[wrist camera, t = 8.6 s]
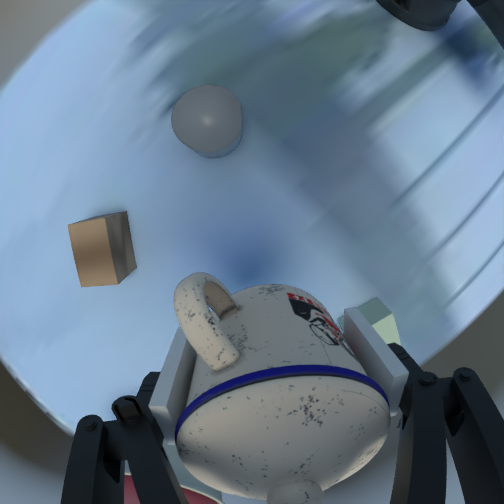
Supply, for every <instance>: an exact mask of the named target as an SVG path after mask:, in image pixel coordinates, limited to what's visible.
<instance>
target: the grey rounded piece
mask: <svg viewBox="0 0 504 504" xmlns="http://www.w3.org/2000/svg"><path fill="white" fill-rule="evenodd" d="M171 122H172V128H173V131H174V133H175V135H176V136H177V138H178V139H179V140H180V141H181V142H182V143H183V144H185V145H187V146H188V147H190V148H191V149H193V150H194V151H196V152H197V153H199V154H200V155H202V156H205V157H208V158H220V157H223V156H226V155H228V154H230V153H231V152H232V151H233V150H234V149H235V148H236V147H237V146H238V144H239V142H240V140H241V136H242V109H241V105H240V103H239V101H238V99H237V98H236V96H235V95H234V94H233V93H232V92H230V91H229V90H228V89H226V88H224V87H222V86H218V85H212V84H207V85H200V86H197V87H194V88H192V89H190V90H188V91H187V92H185V93H184V94H183V95H182V96H181V97H180V98H179V99H178V101H177V102H176V104H175V106H174V108H173V112H172V117H171Z"/></svg>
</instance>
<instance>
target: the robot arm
mask: <svg viewBox="0 0 504 504" xmlns="http://www.w3.org/2000/svg"><path fill="white" fill-rule="evenodd" d="M377 1H378V2H379V3H380V4H381V5H382V6H383V7H384V8H386V9H387V10H388V11H389V12H390V13H392V14H393V15H394V16H396V17H397V18H399V19H400V20H402V21H404V22H405V23H407V24H409V25H411V26H413V27H416V28H418V29H422V30H426V31H434V30H437V29H439V28H440V27H442V26H444V25H445V24H446V23H447V22H448V20H449V18H450V14H451V13H452V12H453V11H454V9H455V7H456V5H457V3H458V2H460V1H461V0H377ZM467 1H468V2H469V4H470V5H471V6H472V7H473V8H474V9H475V11H476V12H477V13H478V14H479V16H480V17H481V18H482V19H483V21H484V22H485V23H486V25H487V26H488V27H489V29H490V30H491V32H492V33H493V34H494V36H495V37H496V39H497V40H498V42H499V43H500V45H501V46H502V48H503V49H504V0H467ZM343 336H344V338H345V340H346V341H347V343H348V345H349V346H350V348H351V349H352V351H353V353H354V354H355V356H356V358H357V359H358V361H359V362H360V364H361V366H362V367H363V369H364V371H365V372H366V374H367V376H368V377H369V378H371V379H373V380H374V381H375V382H376V383H377V384H379V386H380V387H381V388H382V389H383V390H384V392H385V394H386V396H387V398H388V401H389V406H390V415H391V416H394V415H396V414H397V411H398V408H399V407H400V409H401V411H402V412H403V413H402V415H401V418H400V421H399V423H398V426H397V428H399V427H400V435H399V446H398V455H397V463H396V471H395V478H394V484H393V490H392V495H391V500H390V504H445V498H446V474H447V463H446V462H447V460H446V439H447V442H448V445H449V448H450V451H451V453H452V457H453V460H454V463H455V467H456V470H457V473H458V477H459V481H460V484H461V488H462V492H463V496H464V500H465V504H504V420H503V418H502V416H501V414H500V413H499V411H498V409H497V407H496V405H495V404H494V402H493V400H492V398H491V397H490V395H489V393H488V392H487V390H486V388H485V387H484V386H483V384H482V382H481V380H480V379H479V377H478V376H477V374H476V373H475V372H474V371H473V370H472V369H470V368H466V367H462V368H458V369H456V370H455V371H454V374H453V376H452V377H447V378H438V377H437V376H436V375H435V374H433V373H431V372H424V371H423V370H422V369H421V368H420V367H419V366H418V364H417V363H416V362H415V361H414V360H413V359H412V357H410V355H409V354H408V353H407V352H406V350H405V349H404V348H403V347H402V346H400V345H399V344H397V343H395V342H393V343H389V344H386V343H385V342H384V340H383V339H382V338H381V337H380V335H379V334H378V333H377V332H376V331H375V329H374V328H373V327H372V326H371V325H370V323H369V322H368V321H367V320H366V319H365V317H364V316H363V315H362V314H361V313H360V311H359V310H358V309H357V308H356V307H355V308H349V309H344V328H343ZM196 358H197V352H196V350H195V349H194V348H193V347H192V345H191V344H190V342H189V341H188V339H187V338H186V336H185V334H184V332H183V330H182V328H181V327H178V329H177V332H176V334H175V337H174V339H173V342H172V344H171V347H170V350H169V352H168V355H167V357H166V360H165V362H164V365H163V368H162V370H161V372H150V373H149V374H148V375H147V376H146V377H145V378H144V380H143V382H142V384H141V386H140V389H139V391H138V393H137V396H136V397H135V396H130V395H128V396H122V397H120V398H118V399H117V400H115V401H114V403H113V404H112V408H111V409H112V411H113V413H114V414H115V416H116V418H117V420H113V421H106V422H103V420H102V419H101V417H99V416H97V415H87V416H85V417H83V418H82V419H81V420H80V421H79V422H78V424H77V428H76V432H75V436H74V440H73V443H72V448H71V452H70V456H69V461H68V465H67V470H66V475H65V480H64V486H63V492H62V499H61V504H124V478H125V460H127V462H128V465H129V469H130V473H131V476H132V480H133V483H134V487H135V490H136V493H137V496H138V499H139V502H140V504H189V502H188V500H187V498H186V496H185V494H184V492H183V490H182V488H181V486H180V484H179V482H178V479H177V477H176V475H175V473H174V470H173V468H172V466H171V463H170V461H169V459H168V456H167V454H166V451H165V449H164V447H163V445H162V444H163V440H164V439H165V441H166V442H167V444H168V445H176V444H175V428H176V424H177V422H178V419H179V417H180V416H181V414H182V412H183V411H184V410H185V409H186V405H187V400H188V395H189V390H190V386H191V381H192V376H193V372H194V367H195V363H196Z"/></svg>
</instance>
